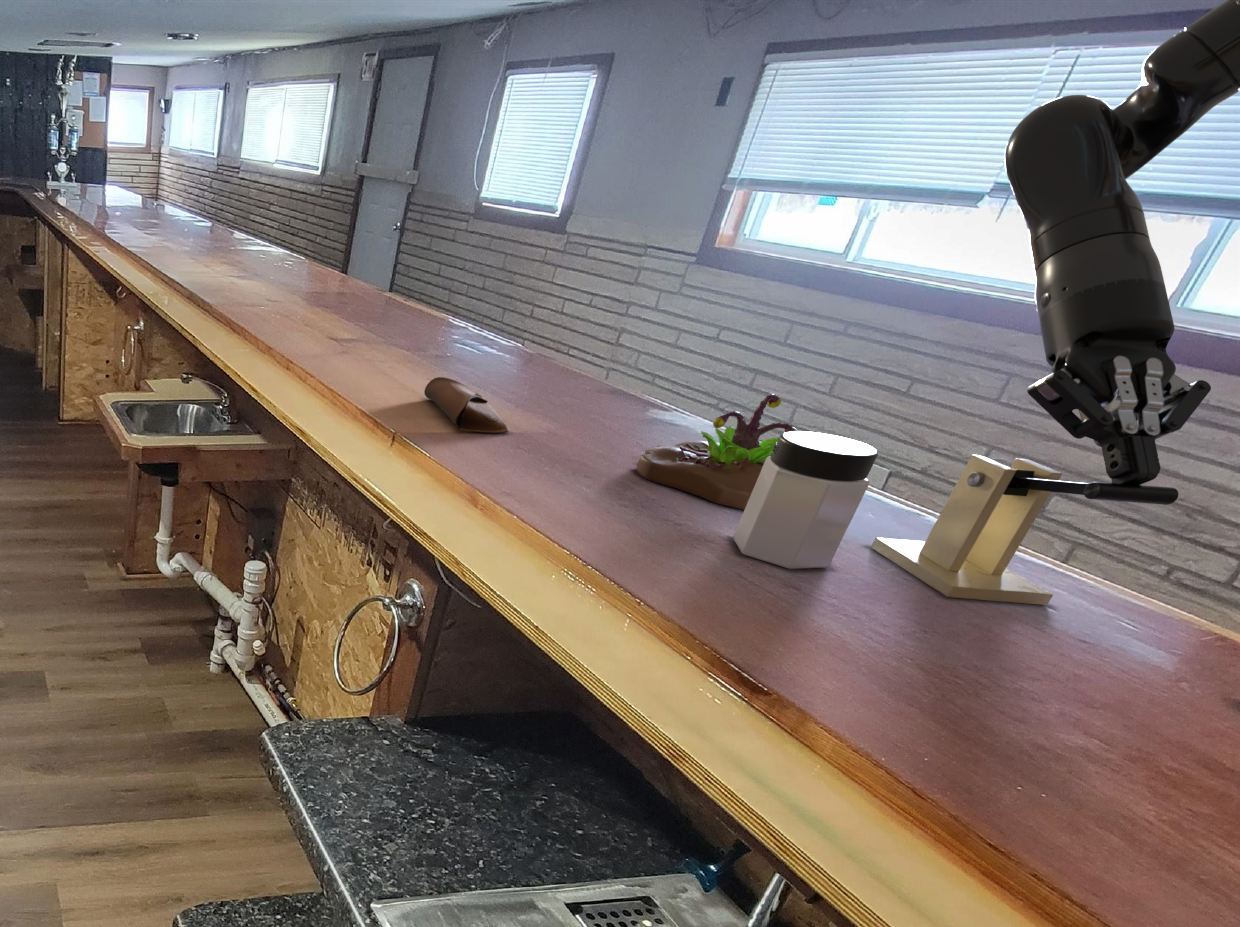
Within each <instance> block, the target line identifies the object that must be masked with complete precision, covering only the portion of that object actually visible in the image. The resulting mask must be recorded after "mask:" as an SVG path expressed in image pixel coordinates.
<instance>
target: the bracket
mask: <svg viewBox="0 0 1240 927" xmlns="http://www.w3.org/2000/svg"><path fill="white" fill-rule="evenodd" d="M1016 470H1028V471H1035V473H1034V476H1033V479H1043V480H1055V481H1060V479H1061V478H1062V476H1063V473H1062V472H1060V471H1057V470H1055V469H1053V468H1050V467H1047V466H1045V465H1043V464H1040V463H1038V462H1036V461H1033V460H1030V459H1028V458H1022V457H1016V458H1015V459H1014V460H1013V463H1012V464H1011V466H1008V465H1006V464H1003V463H1001V462H998V461H996V460H994V459H991V458H989V457H986V456H985V455H980V454H972V455H971V456H970V459H969V460H968V461H967V464H966V465H965V467H964V470H963V471H962V473H961V475H960V477H959V478H958V481H957V482H956V484H955V486H954V488H953V490H952V492H951V493H950V495H949V497H948V499H947V500H946V503H945V504H944V506H943V508H942V510H941V512H940V514H939V516H938V518H937V519H936V521H935V523H934V525H933V526H932V529H931V531H930V533H929V534H928V536H927V537H926V540H925V541H923V540H913V539H912V540H911V539H898V538H888V537H887V538H886V537H875V538H874V540H873V542H872V544H871V546H870V548H871V549H872V550H874V551H875V552H877V553H878V554H880V555H882V556H883V557H885V558H887V559H888V560H890V561H891V562H893V563H894V564H896V565H897V566H898V567H900V568H902V569H903V570H905V571H907V572H908V573H910V575H913V576H915V577H916V578H917V579H919V580H920V581H922V582H923V583H924V584H927V585H928V586H930V587H931V588H933V589H935V591H937V592H939V593H940V594H942V595H943V596H945V597H946V598H956V599H967V600H977V601H979V600H980V601H990V602H1002V603H1016V604H1028V605H1038V606H1039V605H1040V606H1047V605H1048V604H1049V603H1050V601H1051V599H1052V598H1053V596H1054V594H1053V593H1051V592H1050V591H1048V590H1046V589H1044V588H1042V586H1039V585H1037V584H1036V583H1034V582H1031V581H1030V580H1028V579H1026V578H1025V577H1023V576H1021V575H1020V574H1018V573H1016V572H1014V571H1012V570H1010V569H1009V568H1008V566H1009V564H1010V563H1011V560H1012V559H1013V557H1014V555H1015V554H1016V553H1017V550H1018V549H1019V547H1020V546H1021V544H1022V542H1023V540H1024V539H1025V537H1026V536H1027V534H1028V532H1029V530H1031V527H1032V526H1033V524H1034V522H1035V520H1036V519H1037V517H1038V515H1039V514H1040V512H1041V511H1042V509H1043V507H1044V505H1045V504H1046V502H1047V500H1048V499H1049V497H1050V495H1051V494H1052V492H1049V491H1039V490H1029V491H1028V494H1027V496H1014V495H1003V493H1004V491H1005V490H1006V488H1007V486H1008V484H1009V483H1010V481H1011V479H1012V477H1013V476H1014V474H1015V472H1016Z"/></svg>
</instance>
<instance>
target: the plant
mask: <svg viewBox="0 0 1240 927" xmlns="http://www.w3.org/2000/svg"><path fill="white" fill-rule="evenodd" d="M781 403H782V398H781V396H780V395H779V394H776V393H770V394H767V395H766V396H765V398H764V399H763V400H761V401H760V403H759V405H758V406H756V407H755V410H754V411H753V413H752V415H751V416H750V417H749V421H748V423H747V422H746V420H747V419H746V418H745V417H746V416H745V415H744V414H743V413H742V412H740V411H738V410H733V411H730V412H728V413H725V414H723V415H719V416H717V417H716V418H714V420H713V422H712V425H713V427H714V432H715V434H716V436H717V437H718V440H719V442H717V440H716V439H715V438H714V437H713V435H711V434H710V433H708V432H705V431H703V430H700V434H701V435H702V437H703V438H705V439H706V441H705V440H688V441H684V442H681V443H678V444H675V445H657V446H656V447H647V448H646V449H645V451H644V454H641V455H640V456H639V459H638V462H637V465H636V471H637V473H638V474H639V475H640V476H641V477H643V478H645V479H646V480H648V481H650V482H653V483H656V484H659V485H664V486H667V487H670V488H675V489H677V490H680V491H683V492H686V493H689V494H692V495H694V496H698V497H700V498H702V499H704V500H707V501H709V502H711V503H713V504H717V505H721V506H726V507H730V508H734V509H738V510H743V511H744V510H745V508H746V505H747V503H748V500H749V498H750V496H751V493H752V491H753V489H754V486H755V484H756V481H757V479H758V477H759V474H760V472H761V470H762V467H763V465H764V463H765V460H766V458H767V457H768V456H772V453H773V449H774V446H775V444H776V443H777V442H778V439H779V437H771V438H767V439H765V440H763V441H760V440H759V439H760V437H761V436H763V435H764V434H765V433H768V432H770V431H772V430H775V429H783V430H784V433H785V432H792V431H798V430H797V428H795V427H794V425H792V424H791V425H790V424H789V423H784V422H772V423H770V424H766V425H765V426H762V427H760V426H761V423H760V421H761V420H762V415H763V414H764V410H765V408H767V407H769V408H771V409H774V408H777V407H779V406H780V405H781ZM730 417H735V418H736V420H737V421H736V428H734V427H733V426H732V425H730V426H729V425H728V426H727V427H726V428H725V429H724V432H723V431H721V430H720V428H723V427H724V426H725V425H726V423H727V422H728V420H729V418H730Z"/></svg>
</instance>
